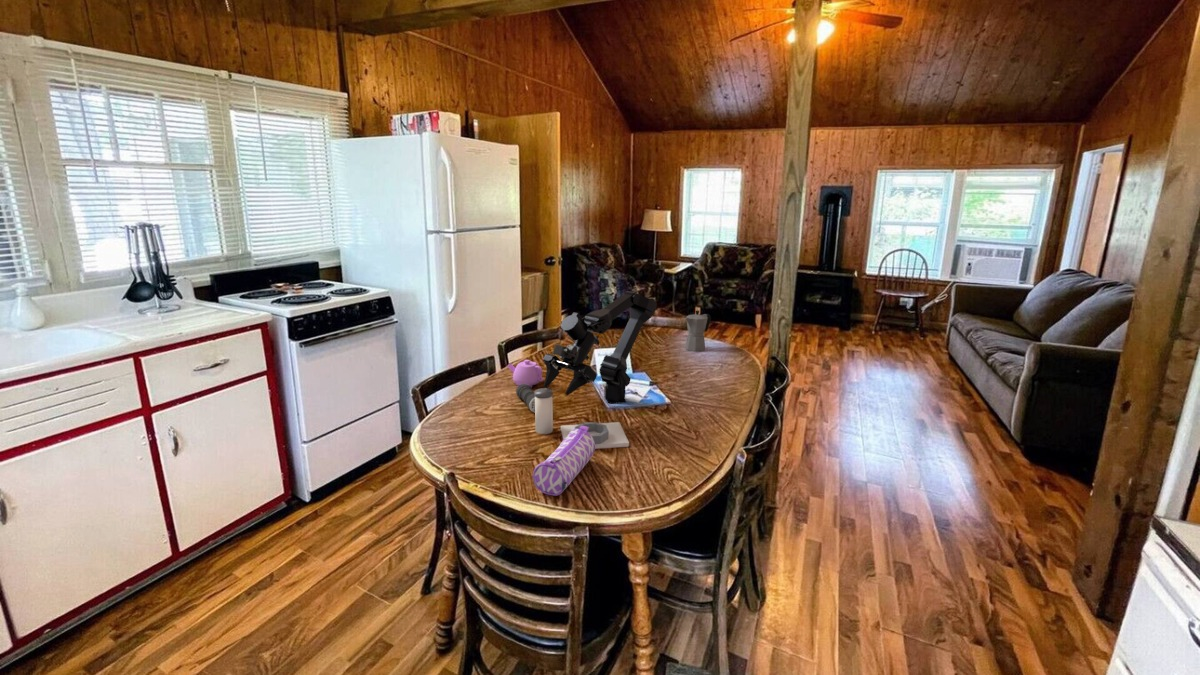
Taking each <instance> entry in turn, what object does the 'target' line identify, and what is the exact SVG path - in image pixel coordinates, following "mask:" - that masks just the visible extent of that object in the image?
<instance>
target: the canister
mask: <svg viewBox="0 0 1200 675" xmlns="http://www.w3.org/2000/svg"><path fill="white" fill-rule="evenodd" d="M533 392H534V396H535V409H534V410H535V416H534V418H535V419H534V422H535V426H534V427H535V430H534V431H535V433H537V434H539V435H548V434H551V433H553V431H554V427H553V426H554V425H553V424H554V420H553V417H554V416H553V414H554V413H553V407H554V406H553V402H554V401H553V395H554V394H553V393H554V391H553V389H551V388H548V387H547V388H545V387H543V388H542V387H541V388H537V389H534V391H533Z"/></svg>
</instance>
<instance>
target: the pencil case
mask: <svg viewBox="0 0 1200 675" xmlns="http://www.w3.org/2000/svg"><path fill="white" fill-rule="evenodd" d="M588 429H589V427H587V426H580V428H579V429H574V430H572V431H571V432H570V433H569V434H568V436H567V437H566V438H565V439H564V440H563V439H562V441H561V443H560V444H559V446H558V447H557V448H556V449H555V451H553V452H552V453H551V454H550V455H549V456H548V457H547V458H546V460H544V461H543V462H540V463H539V464H537V465H536V466H535V468H534V469H533V472H532V481H533V484H534V486H535V487H536V489H537V490H538V491H540V492H541V493H543V494H545V495H548V496H554V497H556V496H560V495H561V494H562V493H563V492H564V491H565V490H566V489H567V488H568V487H569V485H570V484H571V483H572V482H573V480H574V479H575V478H576V477H577V476H578V475H579V474H580V473H581V471H582V470H583V469H584V467H585V466H586V465H587V464H588V462H589V461H590V460H591V458H592V457H593V455H594V454H595V451H596V450H595V442H594V439H593V437H592V436H591V435H590V434H589V433H588V432H587V431H588Z"/></svg>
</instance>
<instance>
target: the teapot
mask: <svg viewBox="0 0 1200 675" xmlns="http://www.w3.org/2000/svg"><path fill="white" fill-rule="evenodd" d="M507 367H508V368H509V369H510V371H511V372H512V373H513V374H512V380H513V382H514V384H516V386H517V387H518V386H519V385H521V384H527V385H528V386H530V387H531V389H532V388H533V386H534V385H539V383H540V382H543V381H544V378H543V368H542V367H541V366H540V365H539V364H538V363H537V362H536V361H531V360H530V359H524V360H523V361H521V362H519V363H517V365H516V367H515V366H514V365H513V363H511V362H510V363H508V364H507Z"/></svg>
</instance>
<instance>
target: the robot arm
mask: <svg viewBox="0 0 1200 675" xmlns="http://www.w3.org/2000/svg"><path fill="white" fill-rule="evenodd" d="M628 309H629V314H630V315H629V316H630V317H629V319H628V321H627V323H626V326H625V327H624V330H623V332H622V333H621V336H620V338H619V340H618V343H617V345H616V346H615V349H614V351H613V353H612V354H610V355H607V354H606V355H605V356H604V357H603V360H602V362H601V363H600V365H599V366H600V367H599V374H600V379H601V381H602V382H603V383H605V385H604V387H603V388H604V389H603V397H604V399H605V400H606V402H607V404H619V403H618V402H624V403H627V399H626V387H628V385H630V383H631V380H632V379H631V377H630V375H629V374H627V370H628V364H627V359H628V357H629V355H630V352H631V350H632V348H633V346H634V344H635V342H636V340H637V338H638V336H639V333H640V331H641V329H642V327H643V325H644V324H645V323H646V322H647V321H649V320H650V319H651V318H652V317H653V315H654V314H655V312H656V311H657V310H656V309H657V302H656V301H655V299H654V298H652V297H647V296H643V295H640V293H638V292H634V291H629V290H626V291H624V292H623V293H622V294H621V295H620V296H618V297H617V298H616V299H614V300H613V301H611V302H610V303H609V304H607V305H606V306H605V307H603V308H601V309H597V310H592V311H591V312H589V313H587V314H586V315H585V316H584V317H582V316H581V314H580V313H579V312H575V311H574V312H572V314H571V315H568V316H566V317H565V318H563V320H562V321H561V324H560V328H561V329H562V331H564V333H565V334H567V336H568V337H569V339H571V340H572V341H573V343H572V344H567V346H564V345H561V344H557V343H556V344H554V348H553V351H552V354H551V353H546V354H545V355H544V356H543V358H542V361H543V362H544V363H543V364H544V365H545V366H546V373H545V378H544V383H543V388H548V387H549V386H550V385H551V384H552V382H554V380H555V379H556V378H557V377H558V376H559V374H560V373H561V372H560V371H561V370H562V369H564V370H568V371H572V372H573V377H572V379H571V381H570V383H569V385H568V387H567V389H566V390H565V393H564V395H566V396H569V395H570V394H572V393H573V392H575V391H576V390H578V389H580V388H582V387H583V386H584V385H587V384H590V383H591V382H592V383H594V382H595V381H596V379H597V375H598V374H597V372H596V370H594V369H593V368H592V366H591V365H588V364H585V363H584V362H585V360H586V361H589V358H590V357H589V353H590V351H591V350H592V348H593V346H594V345H598V346H599V345H600V339H599V336H598V335H595V334H594V333H596V334H600V335H603V334H604V333H606V332H607V331H608V330H609V329H610V328H611V326H612V323H613V321H614V320H615V319H616V318H617V317H619V316H621V314H623V313H624V312H626V311H627V310H628ZM558 356H559V357H558ZM616 402H617V403H616Z"/></svg>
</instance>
